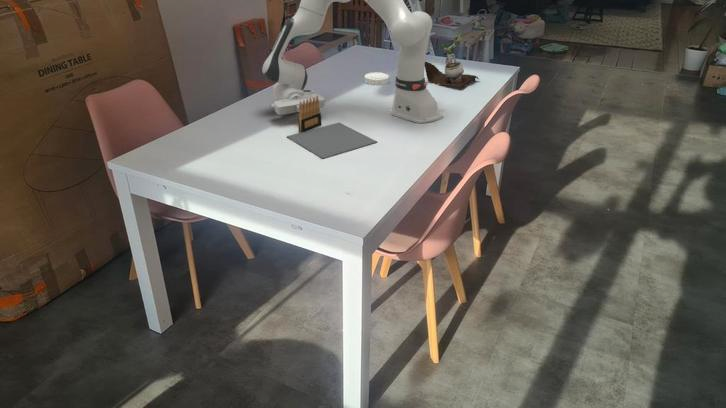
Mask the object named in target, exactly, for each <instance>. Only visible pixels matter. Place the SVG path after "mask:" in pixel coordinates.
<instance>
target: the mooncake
mask: <svg viewBox="0 0 726 408" xmlns="http://www.w3.org/2000/svg"><path fill="white" fill-rule="evenodd" d="M389 81H390V77H389V75H388V74H387V73H384V72H378V71H376V72H368V73H366V74H365V75H364V81H363V82H364V84H366V85H371V86H385V85H387V84H388V83H389Z"/></svg>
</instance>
